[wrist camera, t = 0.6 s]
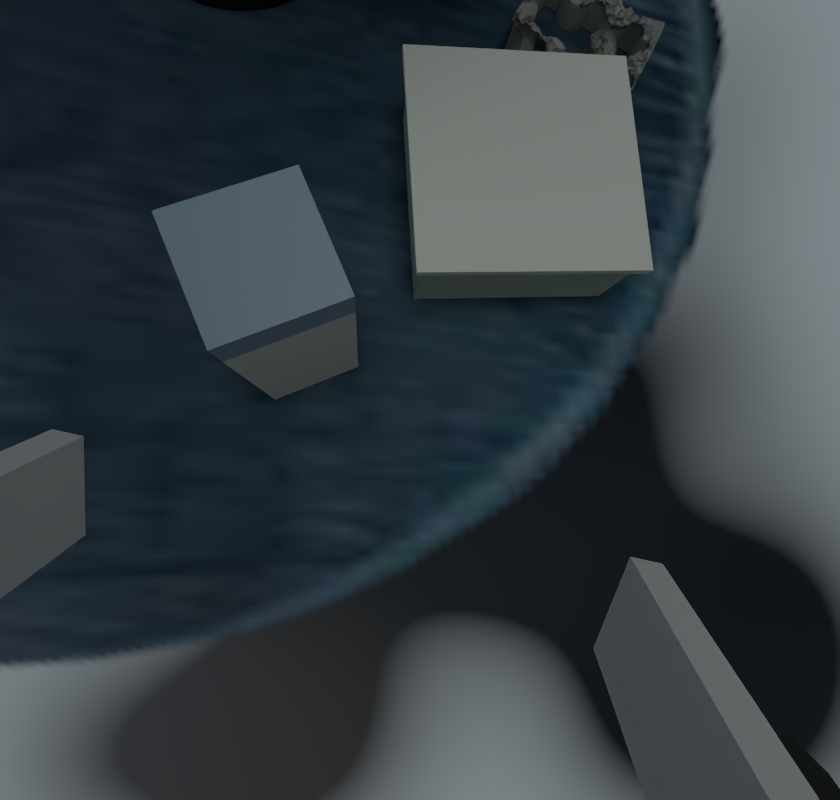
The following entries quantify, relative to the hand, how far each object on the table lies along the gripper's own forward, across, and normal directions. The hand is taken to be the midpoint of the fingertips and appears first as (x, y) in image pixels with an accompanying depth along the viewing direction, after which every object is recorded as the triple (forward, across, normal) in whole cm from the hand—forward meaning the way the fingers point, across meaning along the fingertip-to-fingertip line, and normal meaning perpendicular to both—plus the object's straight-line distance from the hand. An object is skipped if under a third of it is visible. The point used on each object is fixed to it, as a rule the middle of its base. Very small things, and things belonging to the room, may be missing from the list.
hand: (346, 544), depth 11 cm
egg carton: (+36, +7, +23) cm, 44 cm away
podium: (+29, +4, +11) cm, 31 cm away
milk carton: (+22, -8, -1) cm, 23 cm away
